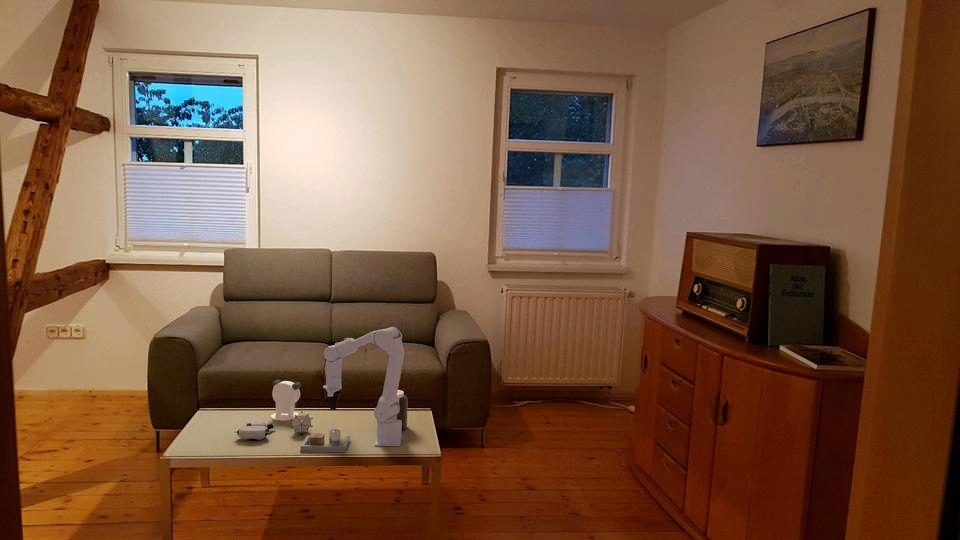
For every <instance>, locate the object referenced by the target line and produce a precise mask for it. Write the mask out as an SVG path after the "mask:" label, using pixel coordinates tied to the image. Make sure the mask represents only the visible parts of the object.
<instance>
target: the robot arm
mask: <svg viewBox="0 0 960 540" xmlns="http://www.w3.org/2000/svg"><path fill="white" fill-rule="evenodd" d="M402 339H403V334H402V333H401V331H400V330H399V328H397V327H395V326H389V327H388V328H382V329H381V328H380V329H378V330H374V331H370V332H368V333H365V335H363V336H360V337H358V338H356V339H355V338H352V337H350V338H349V337H345V338H344V339H343V340H342V341H340V342H338V341H337V342H335V343H334V345H329V346H327V347H326V348H325V349H324V351H323V358H325V360H326V372H325V373H326V381H325V382H326V383H325V384H326V385H323V386H322V389H325V390H326V391H325V396H326V399H327V401H328V405H329V409H330V410H332V411H336V409H337V407H338V404H339V403H338V402H339V400H340V399H339V398H340V395H341V393H342V388H343V387H342V363H343V358H344V357H347V356H350V355H351V354H353V353H356V352H357V351H358V350H359V349H358V348H360V347H362V346H365V345H367V344H370V343H372V344H373V345H375V344H376V346H378V347H379V348H380V349H381V350H382V351H384V352H385V353H386V354H387V355H388V363H387V366H386V373H385V379H384V383H383V384H384V385H383V388H382V389H383V390H382V395H381V396H382V397H381V396H380V397H381V398H380V397H379V398H380V400H379V399H378V401H377V405H376V407H375V408H374V412H373V417H374V418H375V420H376V422H377V423H376V424H377V425H376V439H375V442H374V446H375V447H400V446H401V443H402V439H403V434H402V432H403V431H402V420H397V419H396V418H397V414H398V413H399V411H400V406H399V398H398V397H397V391H398V390H399V384H400V380H401V374H402V373H401V372H402V368H403V363H404V358H405V348H404V344H403V340H402ZM401 431H402V432H401Z"/></svg>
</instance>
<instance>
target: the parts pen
mask: <svg viewBox="0 0 960 540" xmlns="http://www.w3.org/2000/svg"><path fill="white" fill-rule="evenodd" d="M310 436H311V434H310V435H309V434H307V435H306V436H305V438H304V440H303V441H302V443H301V445H300V452H308V453H312V452H315V453H317V452H319V453H346V450H347V448H348V446H349V443H350V438H351V436H350V435H346V437H345V440H344V442H343V444H342V445H340V446H329V445H325V444H324V445H310Z"/></svg>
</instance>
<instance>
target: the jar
mask: <svg viewBox="0 0 960 540" xmlns="http://www.w3.org/2000/svg"><path fill="white" fill-rule="evenodd" d="M381 397H382V395H381V396H380V397H379V398H378V401H379V400H380V398H381ZM397 397H398V398H399V406H400V411H399V413H398V414H397V418H396V419H397V420H402V431H401V433H402V432H404V431H406V430H407V429H408V407H409V406H408V405H409V404H408V401H409V400H408V397H407V396H406V395H405V392H404V390H400V389H398V391H397ZM405 429H406V430H405Z"/></svg>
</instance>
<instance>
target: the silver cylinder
mask: <svg viewBox="0 0 960 540" xmlns="http://www.w3.org/2000/svg"><path fill="white" fill-rule="evenodd" d="M328 433H329V436H328V437H329V438H328V441H329V442H328V444H329V445H328V446H341V430H340V429H338V428H336V429H335V428H334V429H330V430H329V432H328Z"/></svg>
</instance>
